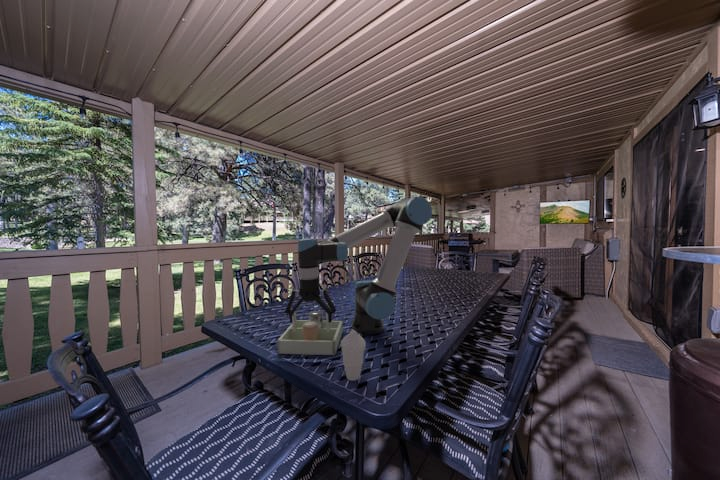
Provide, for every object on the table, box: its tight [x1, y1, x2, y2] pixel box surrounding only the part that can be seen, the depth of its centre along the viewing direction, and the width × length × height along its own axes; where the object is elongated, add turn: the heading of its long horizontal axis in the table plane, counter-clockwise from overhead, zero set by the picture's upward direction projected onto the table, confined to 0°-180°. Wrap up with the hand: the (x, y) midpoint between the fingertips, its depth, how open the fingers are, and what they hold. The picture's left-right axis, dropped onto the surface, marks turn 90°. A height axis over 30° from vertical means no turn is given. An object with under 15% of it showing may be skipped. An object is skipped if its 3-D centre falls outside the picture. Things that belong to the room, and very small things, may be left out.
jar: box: [302, 322, 318, 340], centre depth 108 cm, size 6×6×9 cm
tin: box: [308, 310, 324, 328], centre depth 118 cm, size 6×6×10 cm
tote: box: [276, 319, 344, 356], centre depth 112 cm, size 22×22×6 cm
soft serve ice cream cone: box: [339, 329, 367, 382], centre depth 87 cm, size 8×8×16 cm
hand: (311, 330), depth 108 cm, fingers open, 13 cm apart
